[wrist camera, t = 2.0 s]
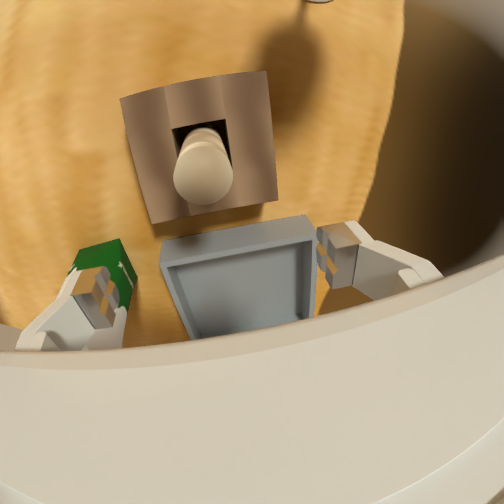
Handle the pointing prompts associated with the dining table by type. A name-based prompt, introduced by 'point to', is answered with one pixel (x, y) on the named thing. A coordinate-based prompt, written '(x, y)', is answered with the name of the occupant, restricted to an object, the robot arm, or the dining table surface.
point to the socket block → (193, 112)
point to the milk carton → (121, 275)
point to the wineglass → (319, 0)
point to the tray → (242, 276)
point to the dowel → (203, 166)
